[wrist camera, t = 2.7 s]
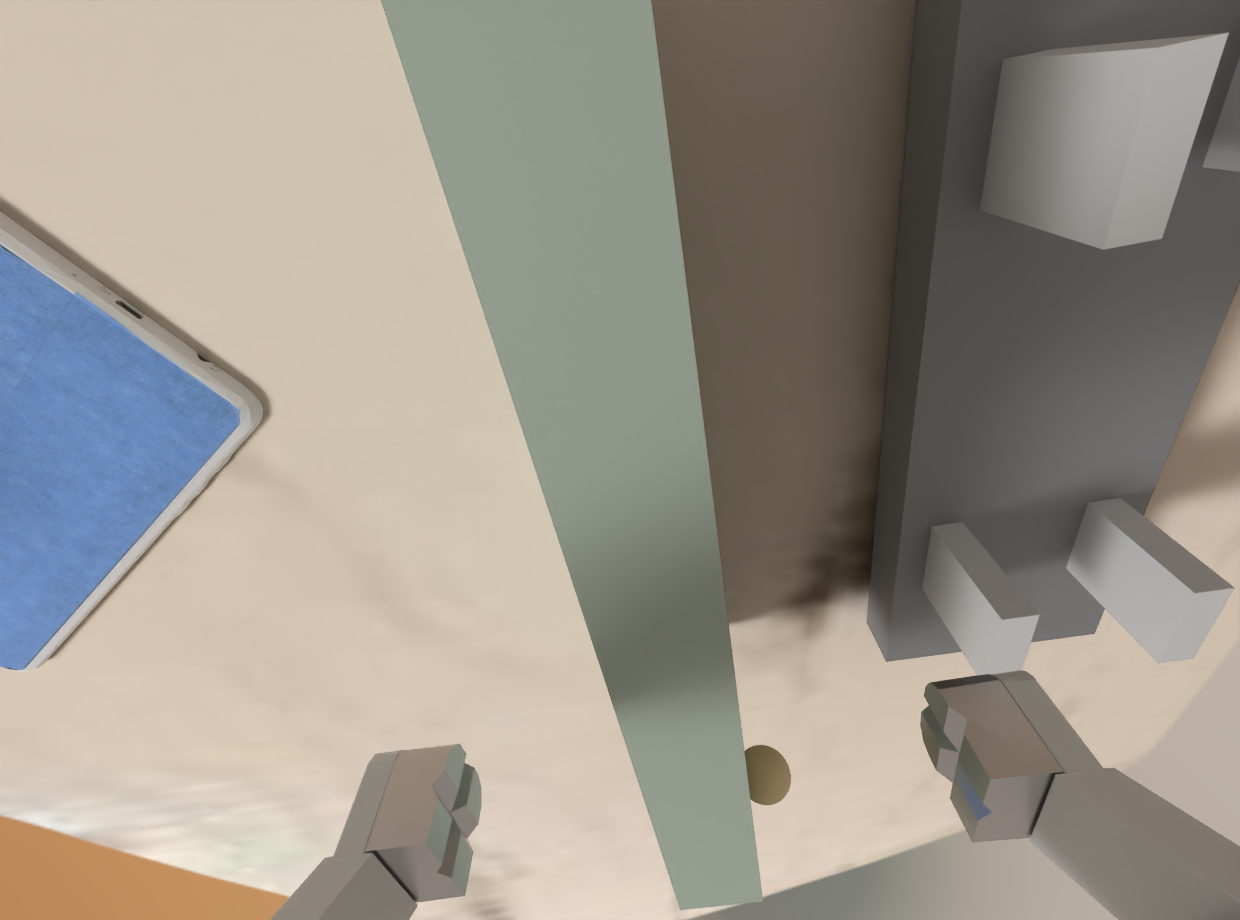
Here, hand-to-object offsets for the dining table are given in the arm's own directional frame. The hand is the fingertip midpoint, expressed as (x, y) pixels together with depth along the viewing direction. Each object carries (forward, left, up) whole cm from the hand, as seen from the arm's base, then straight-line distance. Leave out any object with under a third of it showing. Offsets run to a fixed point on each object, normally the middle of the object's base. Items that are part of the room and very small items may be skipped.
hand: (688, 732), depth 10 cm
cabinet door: (-1, 0, -11) cm, 11 cm away
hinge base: (-1, +12, -11) cm, 16 cm away
